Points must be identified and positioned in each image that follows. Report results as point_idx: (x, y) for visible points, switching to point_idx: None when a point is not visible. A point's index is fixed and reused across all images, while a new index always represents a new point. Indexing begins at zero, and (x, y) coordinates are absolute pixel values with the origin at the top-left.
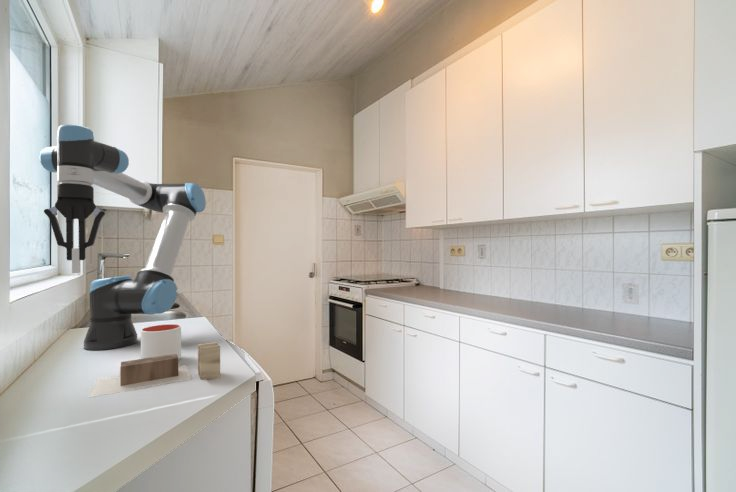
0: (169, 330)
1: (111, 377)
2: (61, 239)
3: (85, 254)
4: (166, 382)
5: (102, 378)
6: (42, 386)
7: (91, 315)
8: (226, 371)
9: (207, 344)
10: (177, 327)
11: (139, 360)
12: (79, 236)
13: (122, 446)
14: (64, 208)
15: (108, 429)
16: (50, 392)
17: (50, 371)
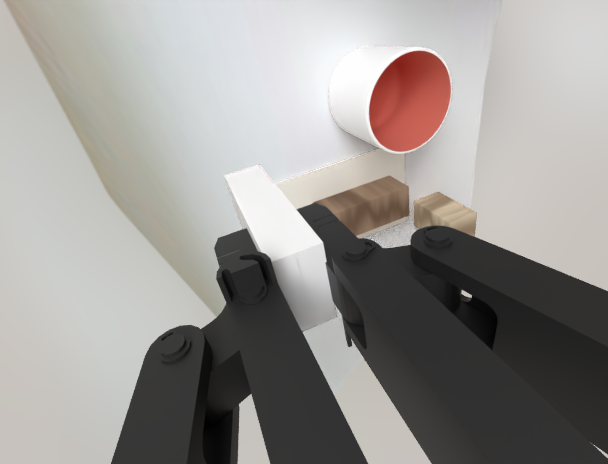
0: (425, 143)
1: (291, 182)
2: (232, 452)
3: (339, 221)
4: (375, 228)
5: (276, 183)
6: (174, 190)
7: None
8: (450, 190)
9: (461, 226)
10: (442, 71)
11: (353, 216)
12: (403, 408)
13: (349, 359)
14: None
15: (332, 336)
16: (211, 226)
17: (112, 66)
